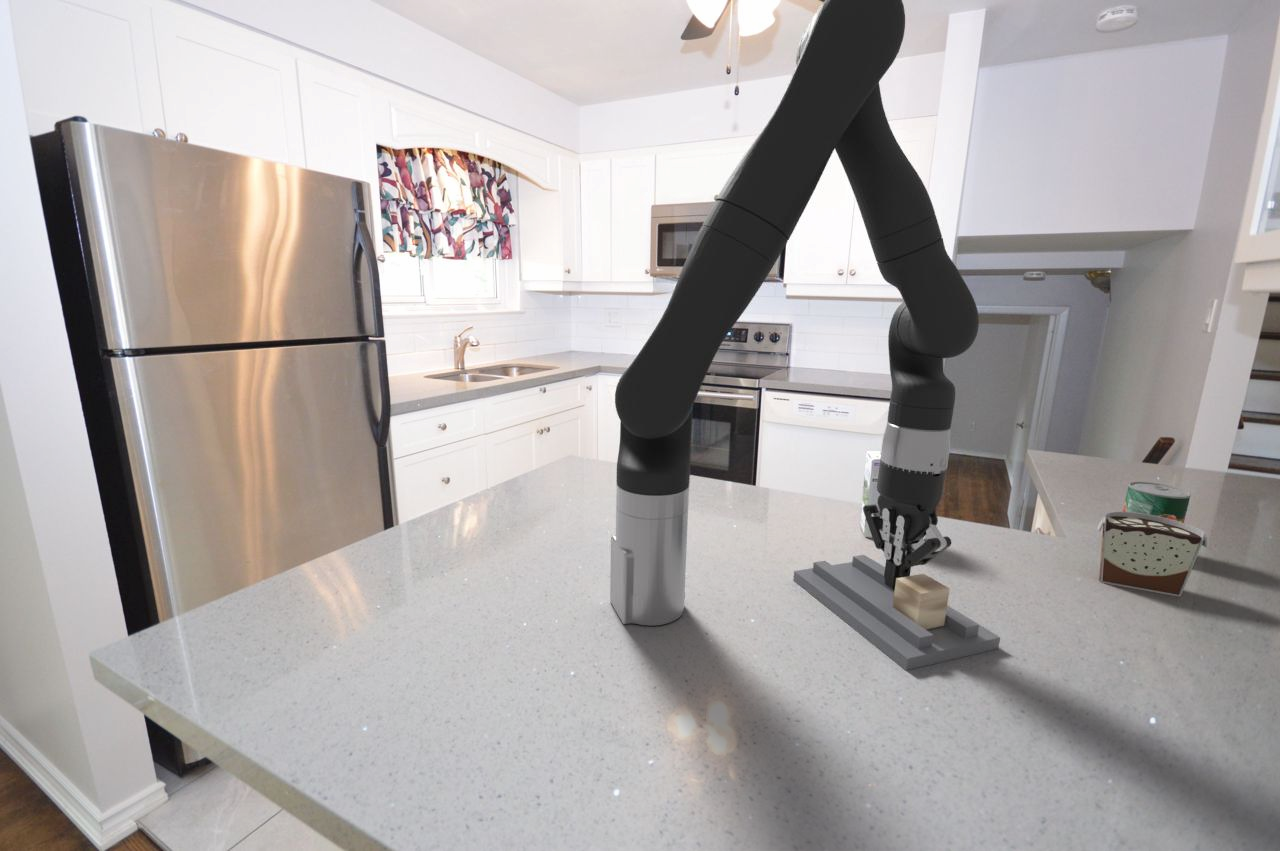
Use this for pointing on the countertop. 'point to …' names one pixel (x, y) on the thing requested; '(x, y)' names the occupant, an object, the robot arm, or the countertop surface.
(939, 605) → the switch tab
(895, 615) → the grey rail board
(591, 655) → the countertop surface
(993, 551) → the countertop surface
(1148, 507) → the canned tomato
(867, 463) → the syrup box
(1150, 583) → the food container
